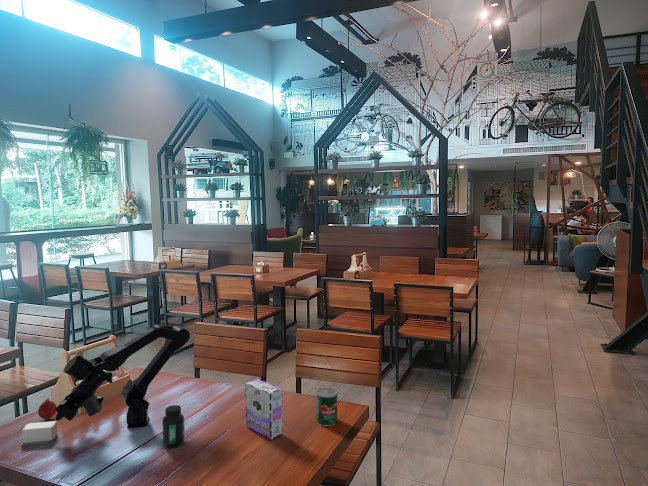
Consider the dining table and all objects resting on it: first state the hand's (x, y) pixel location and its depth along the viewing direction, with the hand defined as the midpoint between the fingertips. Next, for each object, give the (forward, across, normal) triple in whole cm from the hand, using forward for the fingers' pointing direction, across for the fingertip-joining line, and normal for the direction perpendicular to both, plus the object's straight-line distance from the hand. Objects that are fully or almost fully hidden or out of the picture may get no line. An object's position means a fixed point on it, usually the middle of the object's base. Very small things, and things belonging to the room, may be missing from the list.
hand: (56, 419), depth 153 cm
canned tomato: (-59, -6, -71) cm, 92 cm away
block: (+3, 0, -2) cm, 4 cm away
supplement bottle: (-22, -11, -33) cm, 41 cm away
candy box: (-43, -8, -54) cm, 70 cm away
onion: (+11, +15, +2) cm, 19 cm away
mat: (+9, 0, 0) cm, 9 cm away
